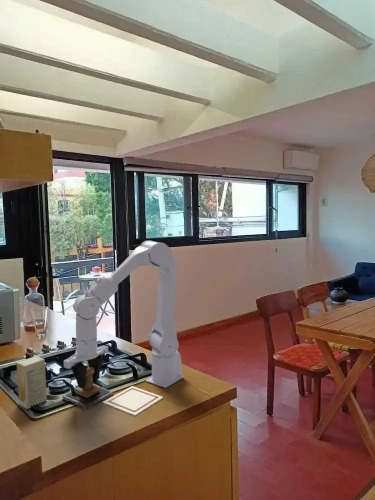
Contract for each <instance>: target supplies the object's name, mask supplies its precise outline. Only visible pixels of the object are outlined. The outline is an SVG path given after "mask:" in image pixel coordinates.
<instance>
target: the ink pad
mask: <svg viewBox="0 0 375 500" xmlns="http://www.w3.org/2000/svg"><path fill="white" fill-rule="evenodd" d="M100 389H101V390H100V391H99V392H98V393H96V394H94V395H92V396H90V397H88V398H86V397H83V396H81V395H78V394H76V397H74V396H72V394H71V391H69V392H67V393H65V394H63V395H62V396H61V399H62V398H63V399H66V400H69V401H71V402H72V403H74V404H73V405H75V406H77V407H80V408H81V409H84V410H87V409H90V408H91V407H94V406H96V405H97V404H99V403H101V402H104V401H105V400H107V399H109V398H111V397H113V396H114V391H112V390H110V389H107V388H104V387H102V386H100ZM63 399H62V400H63ZM72 403H71V404H72Z"/></svg>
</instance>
